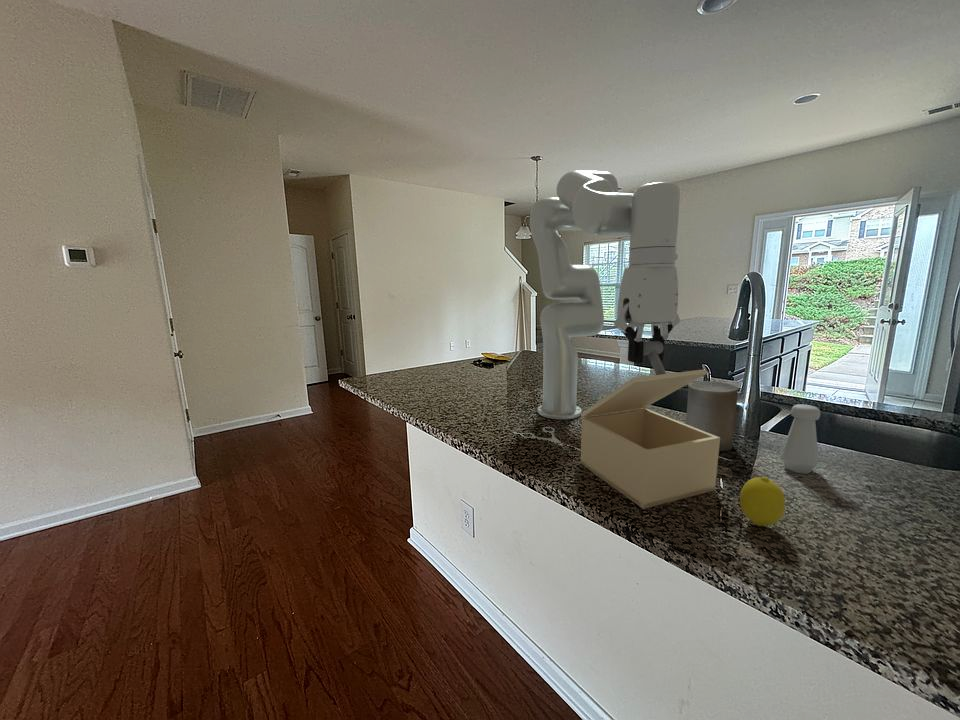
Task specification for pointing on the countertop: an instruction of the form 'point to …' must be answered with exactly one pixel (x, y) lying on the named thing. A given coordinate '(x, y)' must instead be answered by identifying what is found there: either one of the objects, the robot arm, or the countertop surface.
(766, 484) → the lemon
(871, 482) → the countertop surface
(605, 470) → the carton
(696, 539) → the countertop surface
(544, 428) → the scissors
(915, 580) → the countertop surface
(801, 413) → the salt shaker
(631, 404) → the carton flap
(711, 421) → the pillar candle
